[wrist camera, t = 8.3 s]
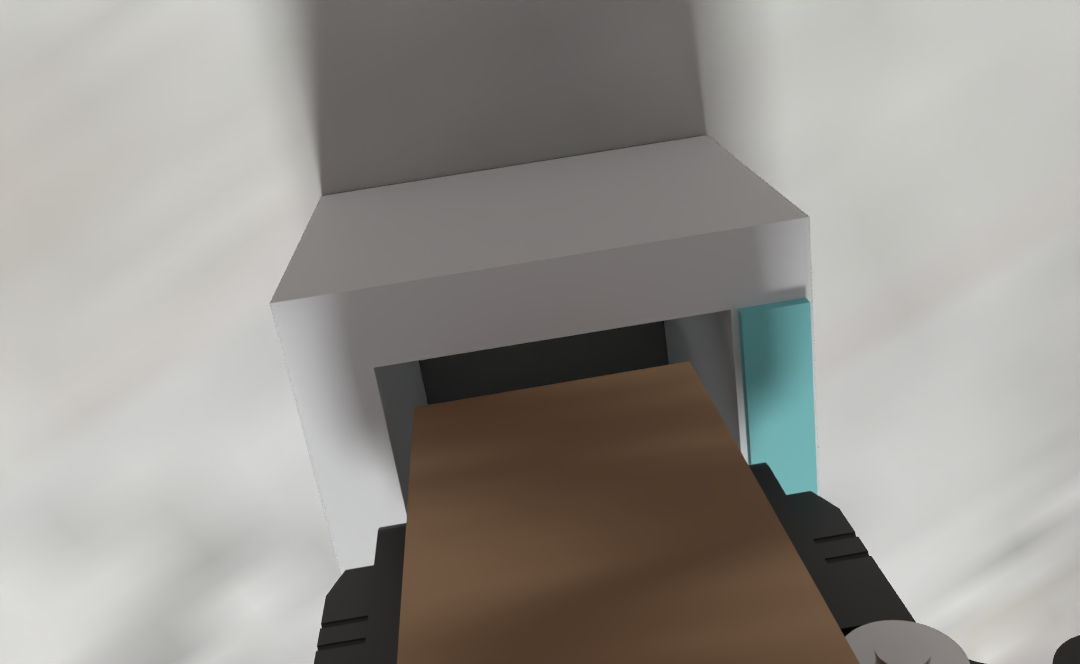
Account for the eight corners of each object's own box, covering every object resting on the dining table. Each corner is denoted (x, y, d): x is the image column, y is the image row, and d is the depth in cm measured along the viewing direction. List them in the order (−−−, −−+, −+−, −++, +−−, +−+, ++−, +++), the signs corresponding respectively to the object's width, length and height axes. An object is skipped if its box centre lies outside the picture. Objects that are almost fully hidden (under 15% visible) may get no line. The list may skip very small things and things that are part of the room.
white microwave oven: (707, 135, 19) (814, 220, 14) (732, 469, 22) (828, 655, 17) (321, 195, 19) (267, 308, 14) (397, 525, 22) (379, 733, 16)
